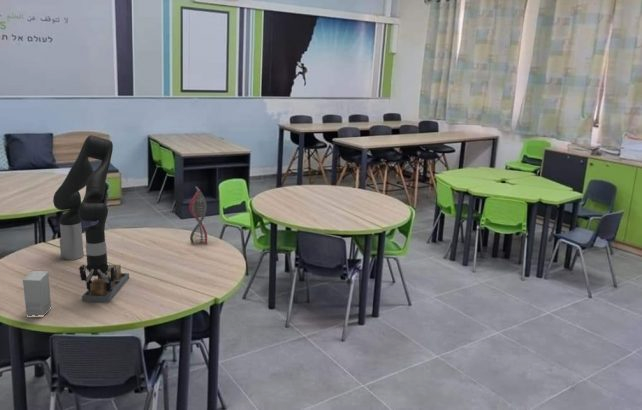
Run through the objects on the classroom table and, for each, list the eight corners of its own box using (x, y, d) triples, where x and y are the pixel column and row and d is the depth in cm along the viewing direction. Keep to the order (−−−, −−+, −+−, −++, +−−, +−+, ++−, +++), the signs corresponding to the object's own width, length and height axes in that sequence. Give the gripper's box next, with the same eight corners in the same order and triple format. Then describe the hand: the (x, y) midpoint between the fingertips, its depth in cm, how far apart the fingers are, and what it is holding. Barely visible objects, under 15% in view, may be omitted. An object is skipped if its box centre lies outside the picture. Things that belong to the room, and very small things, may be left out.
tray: (82, 301, 219) (81, 285, 217) (105, 277, 243) (104, 262, 241) (109, 302, 219) (107, 286, 218) (129, 278, 243) (128, 263, 241)
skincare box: (35, 308, 213) (31, 270, 208) (53, 308, 213) (49, 270, 209) (25, 318, 204) (21, 279, 200) (44, 318, 205) (40, 279, 201)
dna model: (203, 246, 284) (202, 190, 276) (187, 245, 286) (185, 189, 278) (210, 241, 293) (209, 186, 285) (194, 239, 294) (193, 185, 286)
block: (91, 297, 221) (89, 283, 219) (96, 292, 226) (94, 278, 224) (103, 298, 221) (102, 284, 219) (108, 292, 226) (107, 279, 224)
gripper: (117, 249, 222) (120, 287, 226) (82, 247, 222) (85, 285, 226) (111, 255, 215) (113, 294, 219) (74, 254, 214) (77, 293, 219)
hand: (99, 290), depth 223 cm, fingers open, 6 cm apart
